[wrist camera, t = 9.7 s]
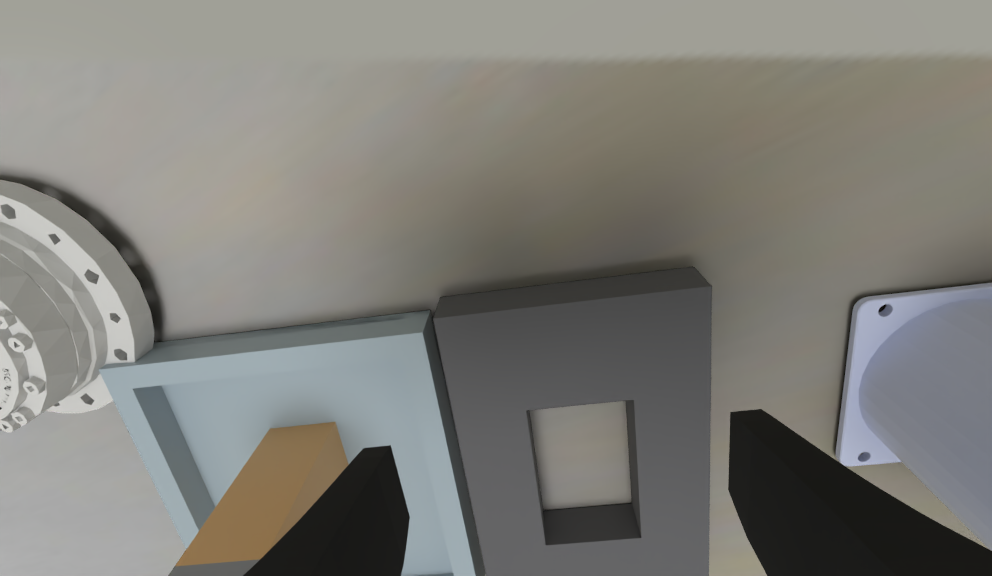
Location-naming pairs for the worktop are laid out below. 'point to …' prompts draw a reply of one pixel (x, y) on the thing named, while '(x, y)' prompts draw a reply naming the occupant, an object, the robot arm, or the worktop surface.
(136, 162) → the worktop surface
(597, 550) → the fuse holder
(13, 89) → the worktop surface
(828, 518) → the robot arm
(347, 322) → the parts tray
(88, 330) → the mechanical component
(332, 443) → the orange two-tone block
